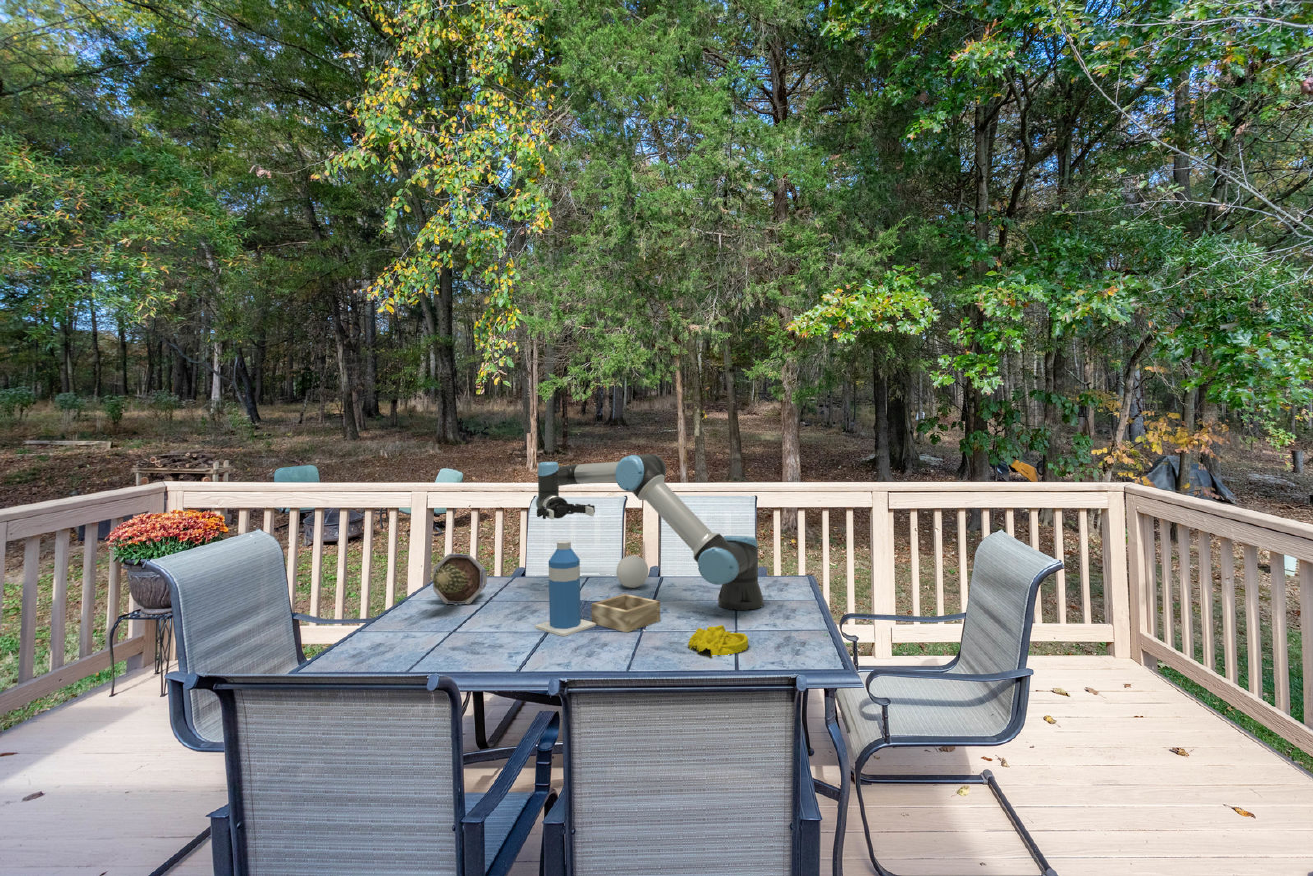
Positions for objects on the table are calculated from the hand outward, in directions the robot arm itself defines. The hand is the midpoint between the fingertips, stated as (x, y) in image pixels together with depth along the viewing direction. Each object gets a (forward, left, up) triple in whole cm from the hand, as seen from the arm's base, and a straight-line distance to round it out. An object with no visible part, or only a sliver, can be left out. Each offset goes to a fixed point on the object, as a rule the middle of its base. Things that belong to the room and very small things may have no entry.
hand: (573, 513), depth 215 cm
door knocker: (-57, -1, -33) cm, 66 cm away
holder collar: (-22, -1, -32) cm, 39 cm away
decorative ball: (+6, -34, -32) cm, 47 cm away
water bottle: (-11, +14, -31) cm, 36 cm away
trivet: (-11, +14, -32) cm, 36 cm away
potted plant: (+37, +21, -32) cm, 53 cm away
